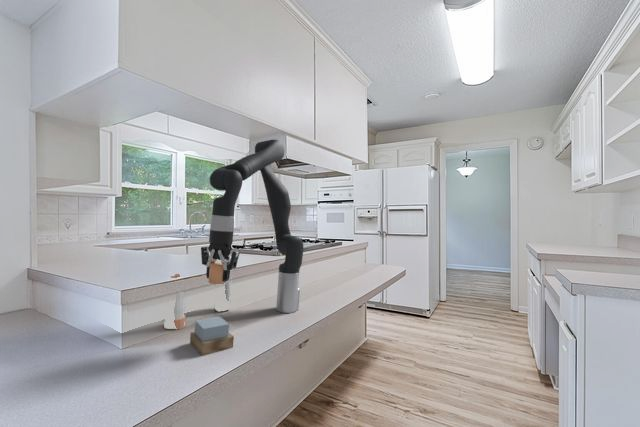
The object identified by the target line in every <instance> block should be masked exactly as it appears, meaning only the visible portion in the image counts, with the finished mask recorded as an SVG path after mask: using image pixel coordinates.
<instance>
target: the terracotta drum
mask: <svg viewBox="0 0 640 427" xmlns="http://www.w3.org/2000/svg"><path fill="white" fill-rule="evenodd" d="M223 270H224V267H223V264H222V263H221V262H215V263H211V264H210V270H209V279H208V281H207V282H208V284H212V285H216V284H224V283H226V282H224V281H223Z"/></svg>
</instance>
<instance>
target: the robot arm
mask: <svg viewBox="0 0 640 427" xmlns="http://www.w3.org/2000/svg"><path fill="white" fill-rule="evenodd" d="M284 156H285V147H284V145H283V143H282V142H281V141H280V140H279V139H268V140H264V141H259V142H257V143H255V145H254V153H252V154H248V155H246V156H244V157H242V158H240V159H238V160H237V161H235V162H234V163H231V164H227V165H223V166H220V167H218V168H216V169H215V170H213V171H212V172H211V173H210V176H209V184H210V186H211V187H212V188H213V189H215V190H217V191H224V193H223V195H222V196H220V197H216V198H214V199H213V202H212V210H211V211H212V212H211V219H210V228H209V236H208V243H209V245H208V246H202V247H200V255H201V256H200V258H201V264H202V265H204V266H205V267H206V279H208V280H209V270H210V264H211V263H217V261H218V260H219V261H220V263H222V264H223V267H224V270H223V281H224V282H226V281H228V280H229V278H230V270H233V269H236V268H237V264H238V260H239V257H240V253H241V252H240V251H239V250H234V249H233V248H232V246H233V245H232V244H233V240H234V230H235V228H234V227H235V211H236V209H235V208H236V203H237V201H238V200H237V199H238V197H239V194H240V192H241V189H242V186H243V181H246V180H247V179H248V178H250V177H251V176H254V174H256V173H257V172H259V171H260V174H261V178H262V180H263V184H264V187H265V192H266V196H267V202H268V207H269V210H270V215H271V219H272V224H273V228H274V233H275V243H276V248H277V251H278V252H279V253H280V254H281V255H282V256H284V257H285V259H284V262H283V263H280V264H279V266H278V276H277V278H278V279H277V290H276V307H275V310H276V311H277V312H279V313H285V314H288V313H289V314H291V313H294V312H295V313H296V312H297V311H299V310H300V309H299V308H300V297H301V296H300V295H301V294H300V293H301V289H300V288H299V286H300V284H299V283H300V282H299V281H300V269H301V266H302V263H303V256H304V242H303V240H302V238H301V237H299V236H296V235H292V233H291V231H290V226H289V218H290V214H291V209H292V204H291V203H292V202H291V200H290V195H289V194H290V193H289V190H288V189H287V188H286V186H285V185H284V183H282V181H281V180H280V179H279V178H278V177H277V176H276V174H275V173H274V170H273V167H272V164H273V163H277V162H280V161H282V160H283V159H284Z"/></svg>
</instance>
